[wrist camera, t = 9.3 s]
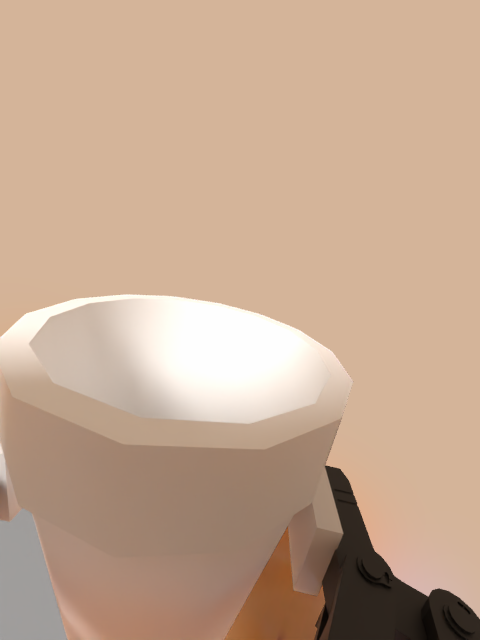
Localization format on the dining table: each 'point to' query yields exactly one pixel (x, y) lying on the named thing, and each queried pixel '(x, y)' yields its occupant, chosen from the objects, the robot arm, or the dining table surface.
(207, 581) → the foam cup
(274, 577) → the dining table surface
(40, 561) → the slate plinth
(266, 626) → the dining table surface
